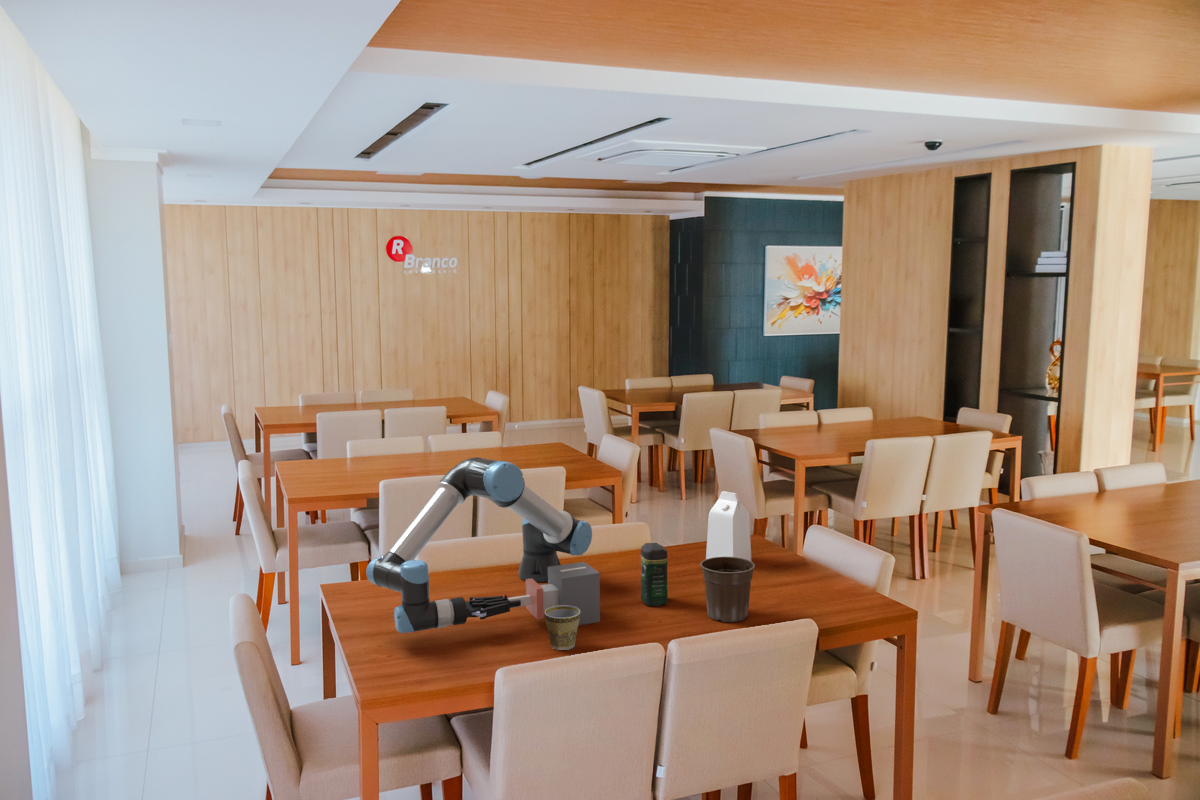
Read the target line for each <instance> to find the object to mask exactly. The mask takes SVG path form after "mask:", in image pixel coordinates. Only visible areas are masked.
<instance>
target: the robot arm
mask: <svg viewBox="0 0 1200 800" xmlns="http://www.w3.org/2000/svg"><path fill="white" fill-rule="evenodd" d="M522 471H523V470H521V468H520V467H519V466H518V465H516V464H515V463H512V462H510V461H508V460H507V461H506V460H495V459H494V460H493V459H487V458H482V457H470V458H467V459H464V460H462V461H461V462H459V463H458V464H456V465H454V467H452V468H451V469H450V470H448V472H447V473H446V474H445V475H444V476H442V479H440V480H439V482H438V483H437V490H436V491H435V492H434V493H433V495H432V496H431V497H430V498H429V500H428V501H427V502H426V503H425V505H424V506H423V507H422V509H420V511H419V512H418V514H417V515H416V516H415V517H414V519H413V520H412V521H411V522H410V524H409V525H408V526H407V527H406V529H405V530H404V531H403V532H402V533H401V535H400V536H399V537H398V539H397V540H396V541H395V542H394V543H393V545H392V546H391V547H390V548H389V550H388V551H387V552H386V553H385V554H384V556H383V557H378V558H377V557H376V558H375V559H371V560H370V562H369V563H368V564H367V567H366V569H365V570H366V571H365V573H366V578H367V580H368V581H369V582H370V583H371V584H374V585H376V586H378V587H380V588H386V589H389V590H392V591H394V592H398V593H400V594H401V604H400V605H398V606H396V607H395V608H394V610H393V612H394V613H393V616H394V625H395V629H396V630H397V631H396V632H398V633H399V634H407V633H415V632H421V631H427V630H432V629H440V630H441V629H443V628H445V627H450V626H451V625H453V626H458V625H464V624H466V623H467V621H468V620H467V619H468V618H478V617H479V620H485V619H486V618H490V617H495V616H497V615H498V616H499V615H501V614H505V613H510V612H511V609H515V608H516V609H517V608H521V607H526V606H529V605H531V596H530V595H526V594H524V595H517V596H512V597H508V595H507V594H504V596H503V595H495V596H481V597H479V596H478V597H475V596H472V597H471V596H470V597H469V599H468V600H467V601H466V600H465V598H464V597H463V596H460V597H459V596H458V597H453V598H452V597H451V598H450V599H449V598H443V599H438V600H433V601H430V574H429V567H428V562H426V561H424V560H421V559H419V560H417V559H416V558H417V557H418V555H420V553H421V552H422V550H424V548H425V547H426V545H427V544H428V542H429V541H430V540H431V539H432V537H434V535H435V534H436V532H437V531H438V530H440V528H441V526H442V525H443V523H445V521H446V519H447V518H448V517H449V516H450V514H451V513H452V512H453V511H454V510H455V508H456V507H457V505H461V504H463V503H464V502H465V501H466V500H467V498H469V497H470V496H477V497H481V498H485V499H488V500H489V501H491V502H492V503H494V504H495V505H496V506H498V507H499V508H500V509H501V508H502V509H506V508H508V509H510V510H511V511H513V512H515V513H516V514H517V515H519V516H520V517H521V518H522V544H523V545H522V547H523V548H522V557H521V561H520V565H519V568H518V578H520V579H521V580H523V581H526V579H531V578H532V579H533V580H534V581H536V582H537V583H543V582H548V567H551V566H558V565H562V564H561V560H560V559H559V556H558V554H557V553H558V552H560V553H563V554H567V555H571V556H582V555H584V554H585V553H586V552H587V551H588V549H589V548H590V546H591V543H592V538H593V529H592V525H591V524H590V523H589V522H587V521H586V520H584V519H583V520H580V519H578V518H576V517H574V516H573V515H572V514H571V513H569V512H567V511H565V510H558V509H557V508H555V507H554V506H553V505H551V504H550V503H549V502H547V501H546V500H545V499H544V498H542V497H541V496H540V495H539V494H537V493H536V492H535V491H533V490H532V489H531V488H529V487H528V486H527V485H526V482H525V478H524V477H523V476H524V473H523V472H522Z"/></svg>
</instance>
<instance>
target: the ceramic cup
mask: <svg viewBox="0 0 1200 800" xmlns="http://www.w3.org/2000/svg"><path fill="white" fill-rule="evenodd" d="M579 619H580V609H578V608H577V607H574V606H569V605H558V606H553V607H550V608H548V609H545V610H544V620H545V624H546V627H547V631H548V637H549V641H550V646H551V647H550V648H551V649H552V648H554V649H553V650H555V649H556V650H555V651H558V650H568V651H569V649H570V650H572V649H574V648H575V645H576V639H577V633H578V627H579V625H578V624H579ZM573 647H574V648H573ZM571 648H572V649H571Z"/></svg>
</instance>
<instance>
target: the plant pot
mask: <svg viewBox="0 0 1200 800" xmlns="http://www.w3.org/2000/svg"><path fill="white" fill-rule="evenodd" d="M700 567H701V569H702V570H701V571H702V578H703V579H704V580H703V581H704V589H705V599H706V601H705V602H706V609H707V617H708V618H710V619H712V620H714V621H721V622H723V623H739V622H742V621H744V620H745V619H746V618H748V617H749V609H750V607H749V606H750V594H751V585H752V580H753V574H754V569H755V567H756V564H755V563H754V562H753V561H752V560H751V561H749V560H747V559H743V558H737V557H714V558H709V559H706V558H705V559H703V560H702V561H701V562H700Z"/></svg>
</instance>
